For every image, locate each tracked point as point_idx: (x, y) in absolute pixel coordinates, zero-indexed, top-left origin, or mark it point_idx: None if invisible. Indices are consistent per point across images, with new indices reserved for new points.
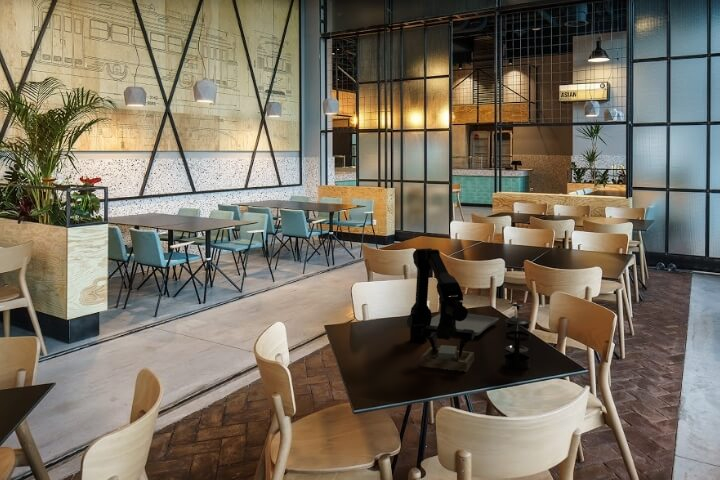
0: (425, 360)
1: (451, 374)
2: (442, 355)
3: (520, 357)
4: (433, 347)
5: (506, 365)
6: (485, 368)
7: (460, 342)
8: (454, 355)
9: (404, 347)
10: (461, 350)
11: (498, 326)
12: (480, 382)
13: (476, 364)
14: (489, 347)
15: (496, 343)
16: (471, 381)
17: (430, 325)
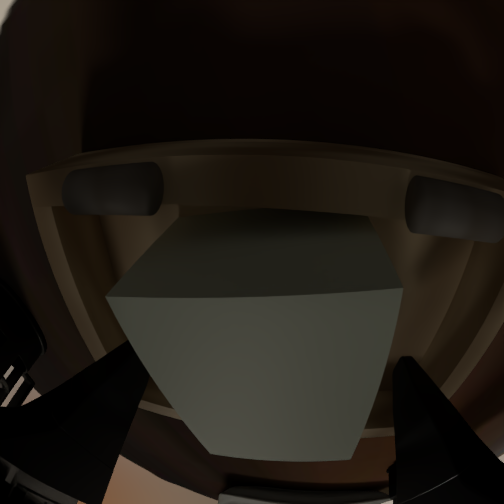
0: (501, 185)
1: (167, 32)
2: (314, 265)
3: (18, 356)
4: (442, 411)
5: (9, 299)
6: (44, 265)
7: (7, 434)
8: (123, 281)
9: (488, 409)
10: (86, 373)
11: (215, 493)
12: (7, 41)
13: None
14: (169, 447)
15: (169, 458)
16: (36, 16)
17: (370, 501)
